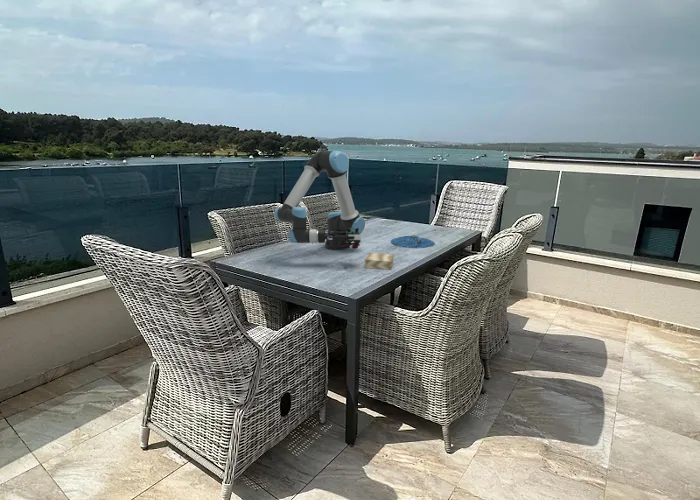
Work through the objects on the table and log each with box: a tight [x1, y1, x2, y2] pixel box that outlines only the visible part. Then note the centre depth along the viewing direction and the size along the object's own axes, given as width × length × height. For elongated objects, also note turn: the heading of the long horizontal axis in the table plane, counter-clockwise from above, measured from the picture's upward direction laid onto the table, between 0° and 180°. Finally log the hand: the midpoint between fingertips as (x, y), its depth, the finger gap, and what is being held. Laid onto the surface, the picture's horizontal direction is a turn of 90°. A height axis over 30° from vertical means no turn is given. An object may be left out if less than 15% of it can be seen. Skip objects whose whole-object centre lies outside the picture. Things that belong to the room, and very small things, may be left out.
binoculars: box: [343, 227, 362, 250], centre depth 204 cm, size 9×11×10 cm
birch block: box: [364, 252, 394, 271], centre depth 210 cm, size 14×14×5 cm
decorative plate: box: [390, 234, 435, 249], centre depth 260 cm, size 30×30×5 cm
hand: (360, 235), depth 206 cm, fingers closed on binoculars, 6 cm apart
